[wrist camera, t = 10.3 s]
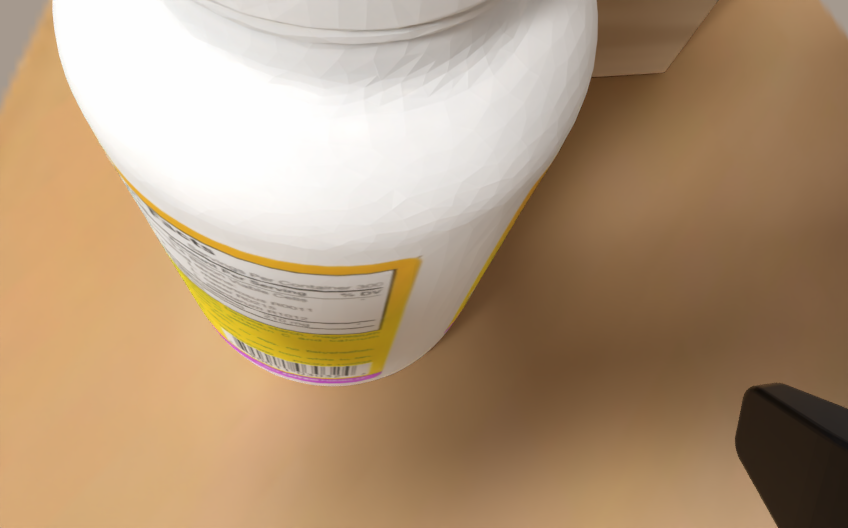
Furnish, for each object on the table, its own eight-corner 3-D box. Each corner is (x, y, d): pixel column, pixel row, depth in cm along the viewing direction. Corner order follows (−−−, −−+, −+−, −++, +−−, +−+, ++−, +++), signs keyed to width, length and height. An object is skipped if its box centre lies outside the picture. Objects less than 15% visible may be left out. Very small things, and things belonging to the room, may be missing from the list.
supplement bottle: (386, 101, 19) (486, -596, 7) (517, 310, 18) (918, -138, 6) (146, 203, 17) (-251, -502, 5) (269, 447, 16) (90, 212, 4)
